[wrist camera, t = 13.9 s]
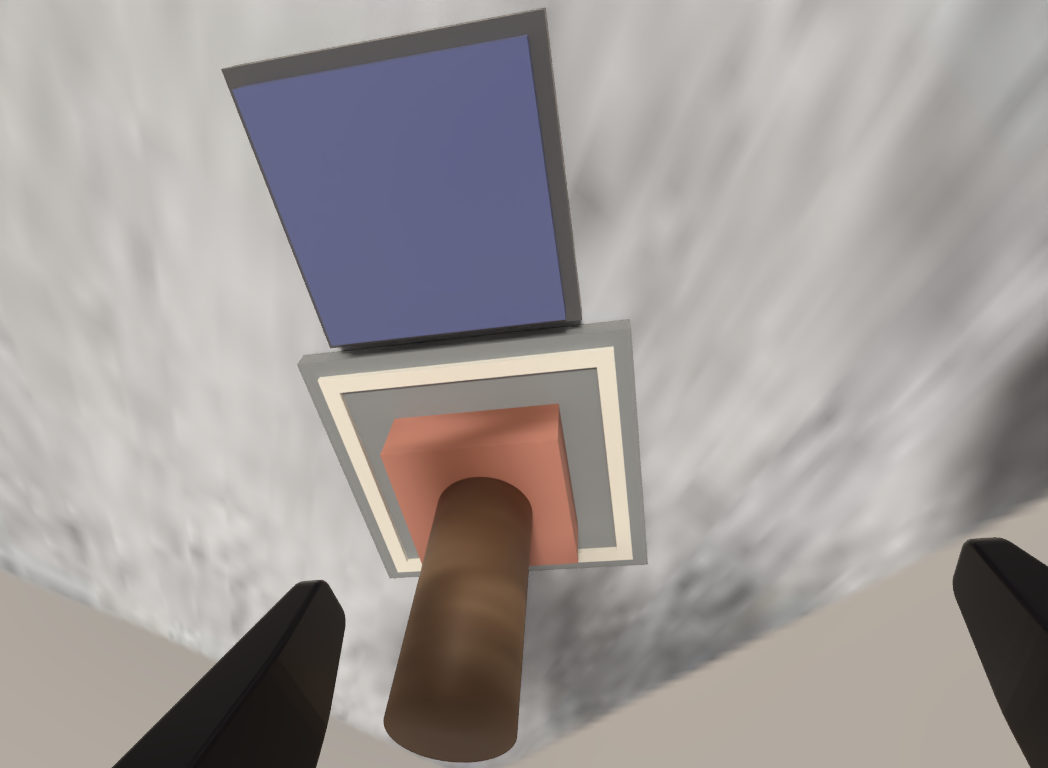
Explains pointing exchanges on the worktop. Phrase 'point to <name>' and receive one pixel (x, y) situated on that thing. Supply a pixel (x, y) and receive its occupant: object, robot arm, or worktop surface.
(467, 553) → the stamp
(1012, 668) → the robot arm
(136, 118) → the worktop surface
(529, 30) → the ink pad
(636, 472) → the marked board
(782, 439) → the worktop surface
